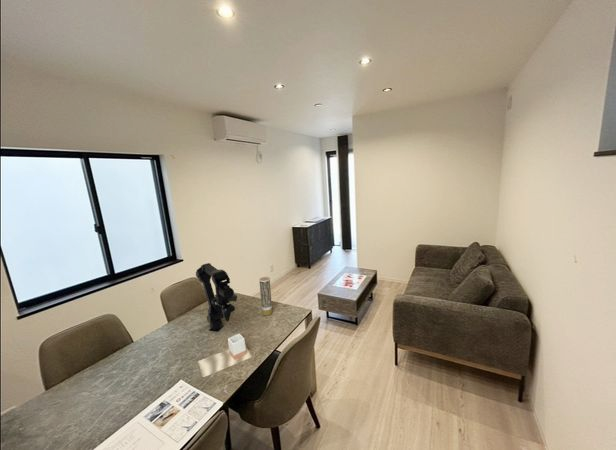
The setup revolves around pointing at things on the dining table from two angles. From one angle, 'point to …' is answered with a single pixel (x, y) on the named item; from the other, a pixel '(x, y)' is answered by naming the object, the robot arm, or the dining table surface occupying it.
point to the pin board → (220, 362)
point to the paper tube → (265, 295)
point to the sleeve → (236, 346)
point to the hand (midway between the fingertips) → (224, 318)
